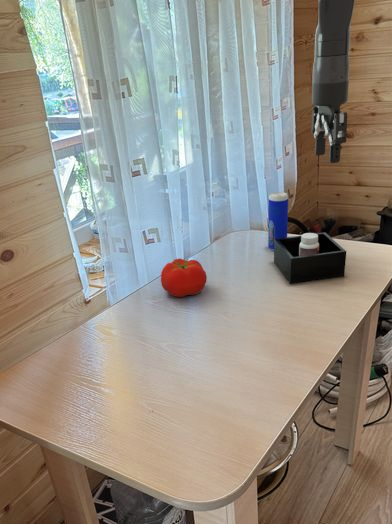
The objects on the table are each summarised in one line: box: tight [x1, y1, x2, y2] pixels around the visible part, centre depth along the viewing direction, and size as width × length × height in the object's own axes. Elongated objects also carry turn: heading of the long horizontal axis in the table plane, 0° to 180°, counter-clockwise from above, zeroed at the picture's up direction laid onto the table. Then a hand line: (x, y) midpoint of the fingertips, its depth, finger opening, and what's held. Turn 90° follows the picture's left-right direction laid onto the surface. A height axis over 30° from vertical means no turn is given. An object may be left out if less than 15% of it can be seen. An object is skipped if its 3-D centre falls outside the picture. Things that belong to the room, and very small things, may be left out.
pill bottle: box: [299, 232, 319, 256], centre depth 127 cm, size 5×5×8 cm
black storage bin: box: [273, 231, 347, 285], centre depth 128 cm, size 14×14×7 cm
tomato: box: [160, 258, 208, 298], centre depth 122 cm, size 11×11×8 cm
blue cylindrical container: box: [267, 191, 289, 252], centre depth 139 cm, size 5×5×15 cm
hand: (326, 158), depth 118 cm, fingers open, 8 cm apart
